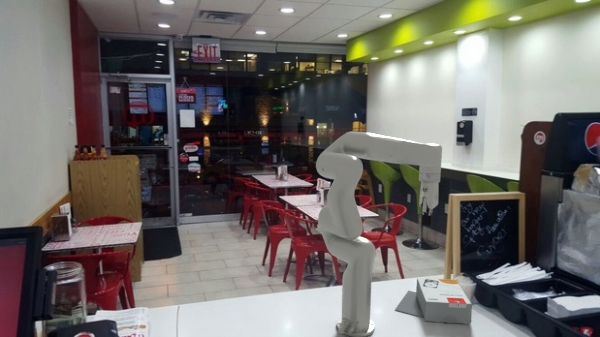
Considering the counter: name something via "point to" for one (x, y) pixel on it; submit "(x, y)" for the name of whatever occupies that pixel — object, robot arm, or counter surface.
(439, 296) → the hard drive box
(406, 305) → the mat
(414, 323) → the counter surface
